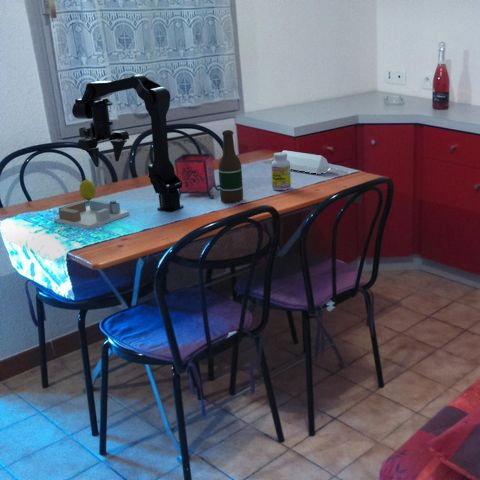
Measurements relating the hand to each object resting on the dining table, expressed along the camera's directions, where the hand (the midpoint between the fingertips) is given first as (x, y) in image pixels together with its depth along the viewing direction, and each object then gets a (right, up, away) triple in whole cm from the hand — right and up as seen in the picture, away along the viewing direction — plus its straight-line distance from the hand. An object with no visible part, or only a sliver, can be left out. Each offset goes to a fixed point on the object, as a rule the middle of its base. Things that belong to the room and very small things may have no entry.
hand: (107, 164), depth 239 cm
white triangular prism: (+71, +1, +32) cm, 78 cm away
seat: (-2, -19, -14) cm, 24 cm away
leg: (+1, -17, -11) cm, 20 cm away
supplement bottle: (+61, -8, +7) cm, 62 cm away
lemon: (-8, -13, +7) cm, 16 cm away
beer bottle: (+44, -13, -4) cm, 46 cm away
